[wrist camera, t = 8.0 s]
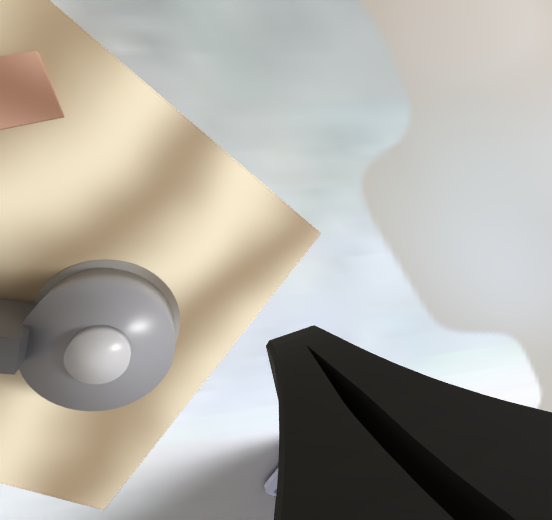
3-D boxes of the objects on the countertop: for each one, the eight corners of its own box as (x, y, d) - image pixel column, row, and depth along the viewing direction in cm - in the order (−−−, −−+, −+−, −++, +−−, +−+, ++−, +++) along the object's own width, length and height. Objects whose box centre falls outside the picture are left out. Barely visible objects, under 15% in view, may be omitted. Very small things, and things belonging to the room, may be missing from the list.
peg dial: (187, 282, 16) (191, 311, 13) (158, 387, 18) (157, 437, 14) (-147, 218, 12) (-255, 239, 9) (-155, 363, 13) (-254, 427, 10)
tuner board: (313, 229, 19) (322, 234, 18) (106, 493, 20) (103, 513, 19) (-35, -68, 12) (-56, -91, 11) (-336, 368, 13) (-383, 388, 12)
